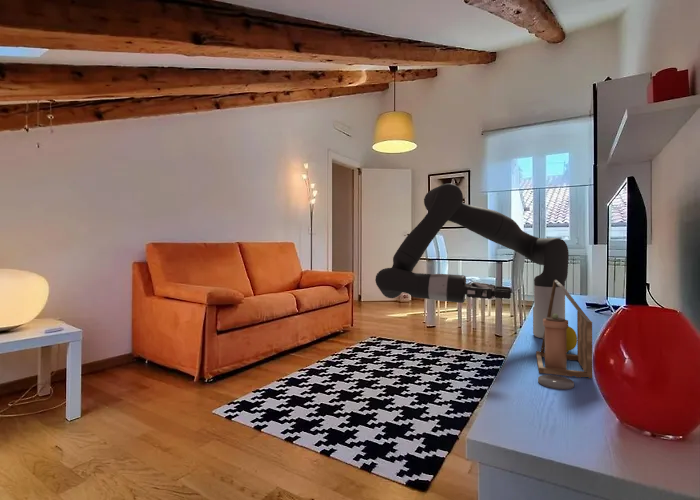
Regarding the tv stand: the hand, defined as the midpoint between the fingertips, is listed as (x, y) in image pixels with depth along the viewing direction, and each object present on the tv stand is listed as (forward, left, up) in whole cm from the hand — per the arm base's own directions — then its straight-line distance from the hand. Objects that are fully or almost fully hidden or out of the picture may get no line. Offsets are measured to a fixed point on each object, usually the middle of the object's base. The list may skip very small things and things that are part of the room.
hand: (510, 293), depth 100 cm
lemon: (-8, +21, -19) cm, 29 cm away
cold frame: (+4, +11, -18) cm, 22 cm away
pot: (+5, +9, -18) cm, 21 cm away
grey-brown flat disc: (+15, +2, -18) cm, 24 cm away
